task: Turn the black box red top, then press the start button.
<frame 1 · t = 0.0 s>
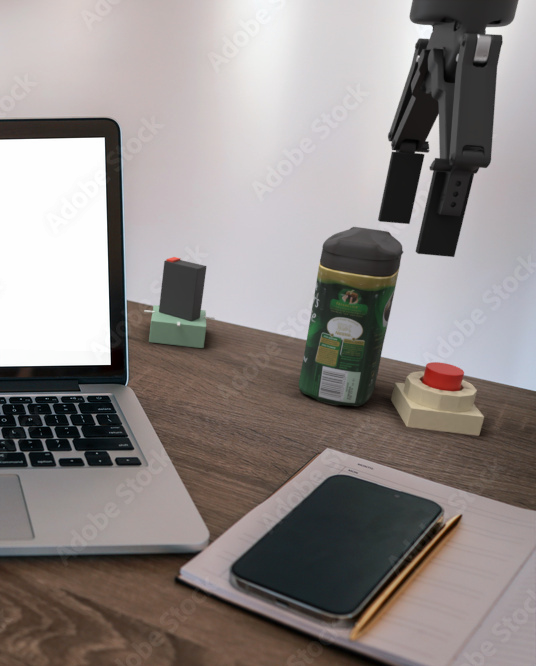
hand: (412, 237, 68), 21 cm above the table, tool pointing down, fingers open, 13 cm apart
start button: (442, 377, 81), point 5 cm above the table, slide at 0.1 cm
dial panel: (176, 336, 103), on the table
button housing: (432, 417, 83), on the table
black box red top: (182, 288, 101), point 7 cm above the table, hinge at -30.0°
coffee jar: (333, 393, 88), on the table
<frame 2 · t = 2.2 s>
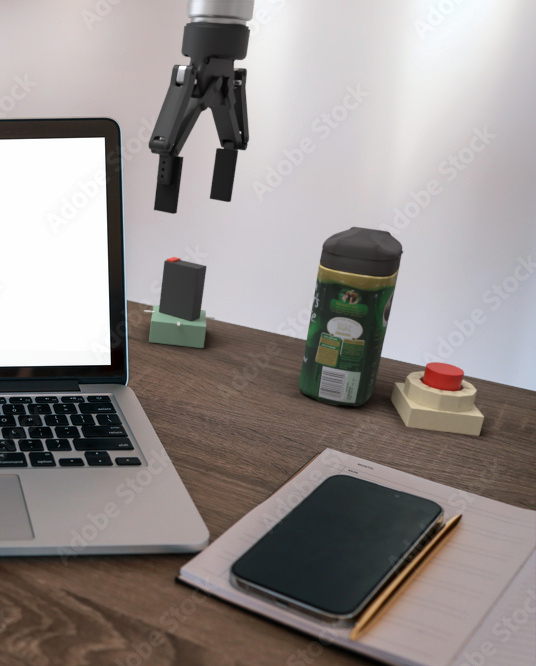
hand: (194, 205, 97), 18 cm above the table, tool pointing down, fingers open, 13 cm apart
nothing on the table moved.
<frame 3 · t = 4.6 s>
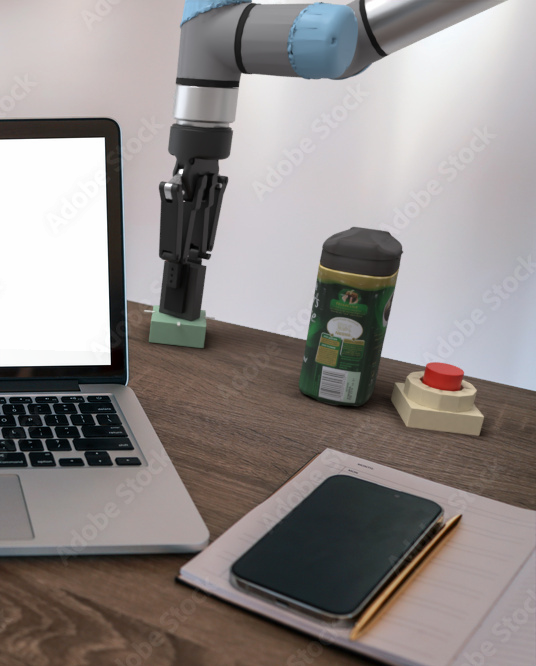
hand: (179, 308, 102), 4 cm above the table, tool pointing down, fingers closed on black box red top, 2 cm apart
black box red top: (182, 288, 101), point 7 cm above the table, hinge at -30.1°, touching gripper
everything else where it was.
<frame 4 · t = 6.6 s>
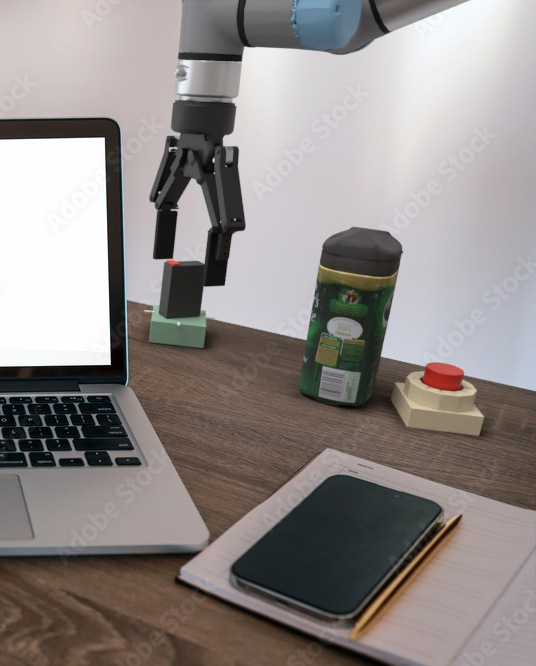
hand: (186, 271, 100), 9 cm above the table, tool pointing down, fingers open, 13 cm apart
black box red top: (182, 288, 101), point 7 cm above the table, hinge at 30.1°
everything else where it was.
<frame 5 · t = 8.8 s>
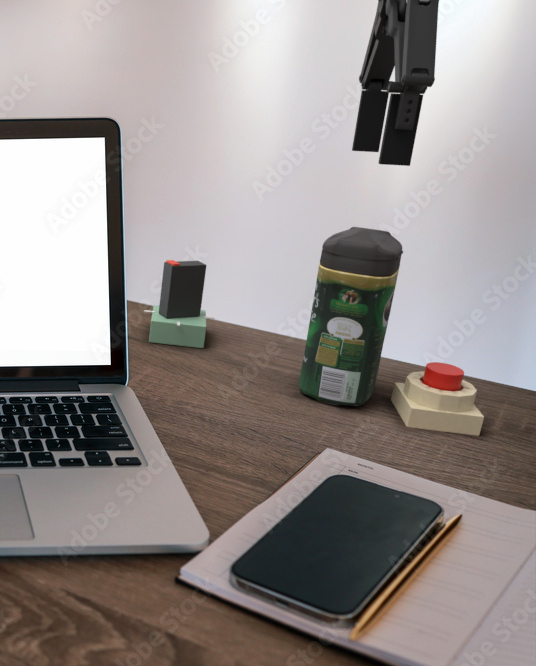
hand: (378, 157, 81), 26 cm above the table, tool pointing down, fingers open, 13 cm apart
nothing on the table moved.
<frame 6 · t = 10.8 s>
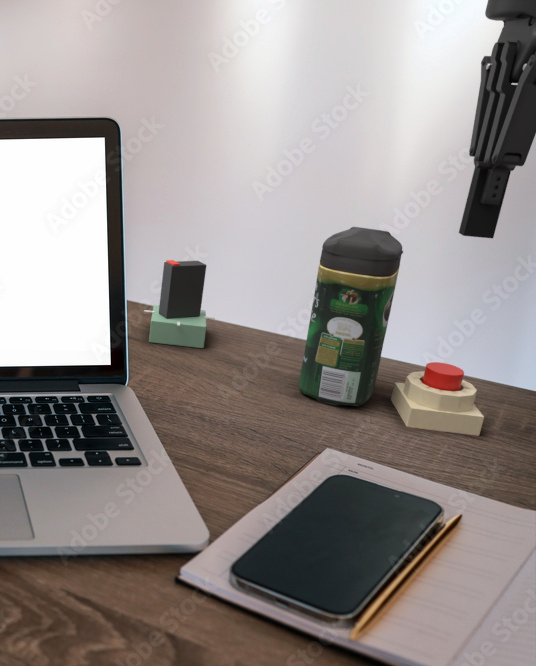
hand: (475, 235, 76), 20 cm above the table, tool pointing down, fingers closed
nothing on the table moved.
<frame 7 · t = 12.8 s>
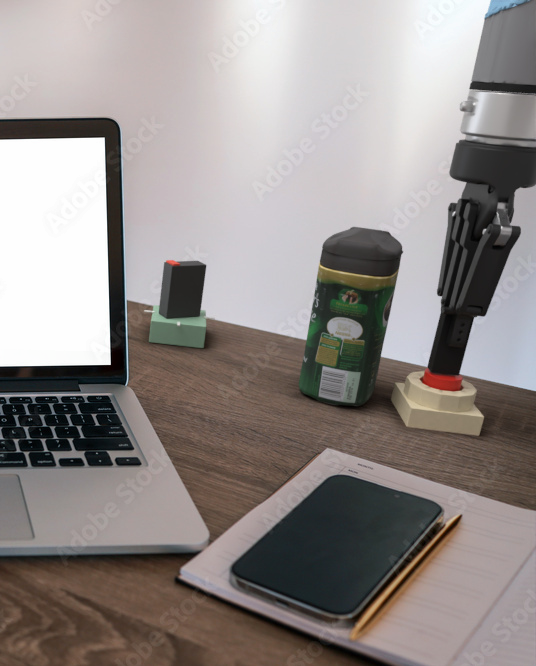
hand: (442, 371, 81), 5 cm above the table, tool pointing down, fingers closed
start button: (441, 382, 81), point 4 cm above the table, slide at -0.5 cm, touching gripper
everything else where it was.
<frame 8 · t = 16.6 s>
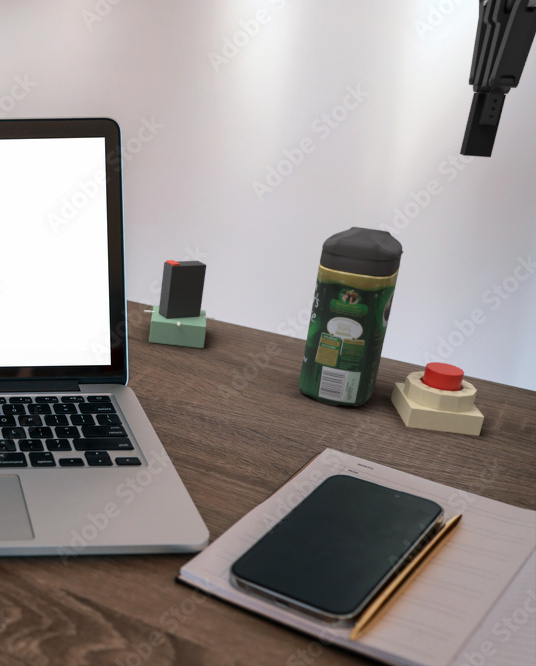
hand: (475, 155, 85), 26 cm above the table, tool pointing down, fingers closed
start button: (442, 377, 81), point 5 cm above the table, slide at 0.1 cm
everything else where it was.
at the end: black box red top at +30° (first picture: -30°); start button pushed in 1.0 cm at the most during the clip, back to where it started at the end; start button slide at 0.1 cm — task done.
